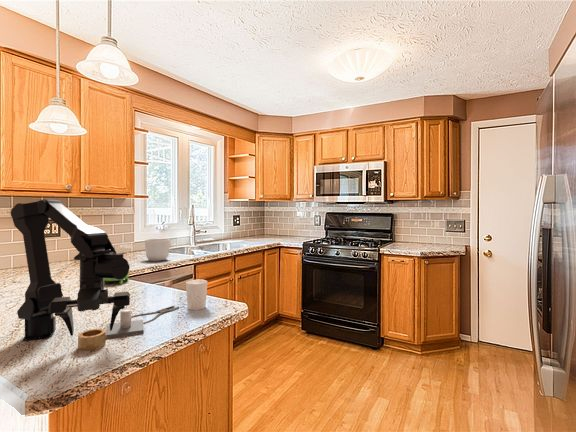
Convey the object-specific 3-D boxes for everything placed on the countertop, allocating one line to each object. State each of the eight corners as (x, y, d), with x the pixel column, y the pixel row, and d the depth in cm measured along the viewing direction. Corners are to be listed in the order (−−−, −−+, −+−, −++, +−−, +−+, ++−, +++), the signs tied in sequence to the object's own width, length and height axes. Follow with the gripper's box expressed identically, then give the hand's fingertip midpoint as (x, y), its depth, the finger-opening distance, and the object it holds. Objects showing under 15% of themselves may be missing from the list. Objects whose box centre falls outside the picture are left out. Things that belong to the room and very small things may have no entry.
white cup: (198, 311, 119) (199, 284, 119) (181, 309, 122) (181, 283, 121) (211, 305, 126) (211, 280, 126) (194, 303, 129) (194, 278, 129)
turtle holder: (133, 276, 177) (133, 255, 177) (125, 284, 160) (125, 260, 159) (108, 277, 174) (108, 256, 174) (97, 285, 156) (97, 261, 156)
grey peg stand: (106, 338, 93) (106, 318, 93) (108, 326, 103) (108, 308, 102) (143, 333, 98) (143, 313, 98) (143, 322, 107) (143, 304, 107)
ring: (76, 352, 84) (76, 339, 84) (80, 343, 90) (80, 330, 90) (104, 348, 87) (104, 335, 87) (106, 339, 93) (106, 327, 93)
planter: (174, 260, 233) (174, 239, 233) (150, 263, 221) (150, 241, 221) (163, 258, 245) (163, 238, 245) (140, 260, 233) (140, 239, 233)
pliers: (118, 320, 107) (159, 303, 126) (118, 323, 107) (159, 305, 126) (142, 324, 104) (180, 306, 123) (142, 326, 104) (180, 308, 123)
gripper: (42, 286, 77) (42, 350, 77) (129, 279, 85) (128, 338, 85) (53, 277, 87) (53, 333, 87) (130, 272, 95) (129, 324, 95)
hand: (91, 332), depth 89 cm, fingers open, 9 cm apart
